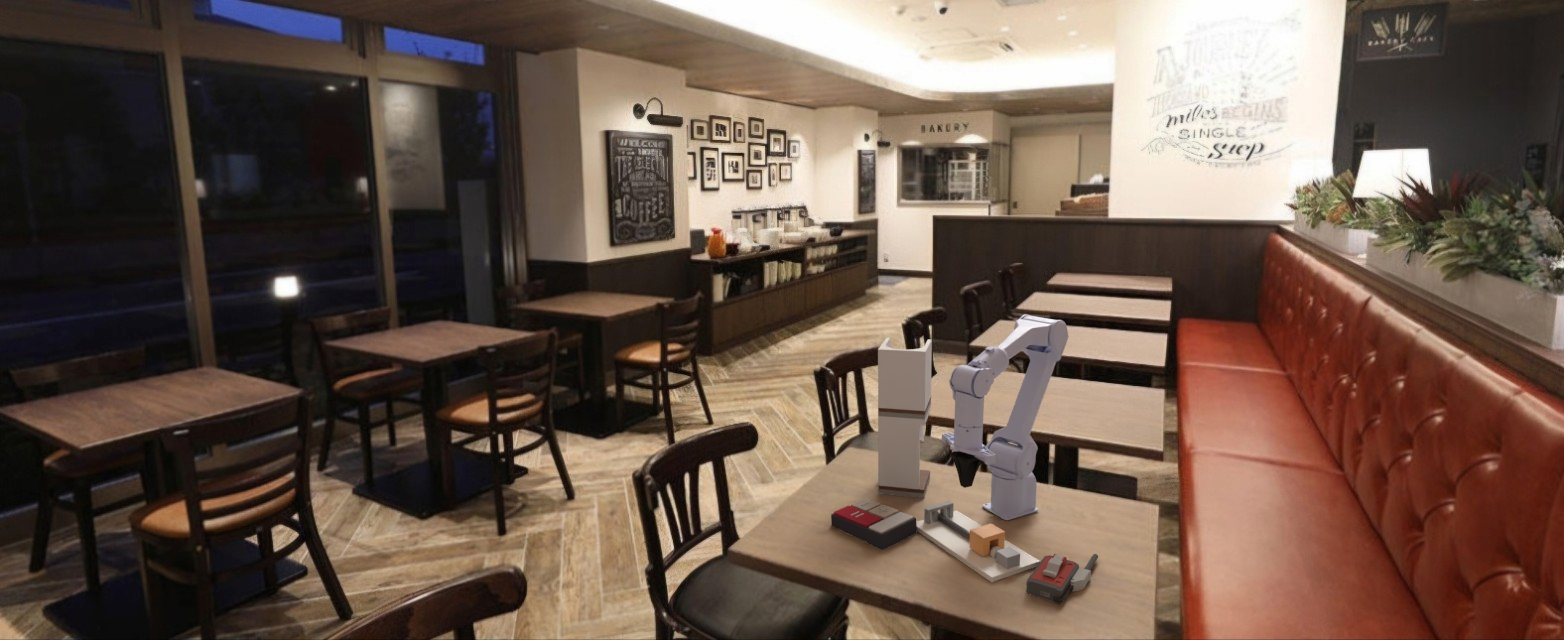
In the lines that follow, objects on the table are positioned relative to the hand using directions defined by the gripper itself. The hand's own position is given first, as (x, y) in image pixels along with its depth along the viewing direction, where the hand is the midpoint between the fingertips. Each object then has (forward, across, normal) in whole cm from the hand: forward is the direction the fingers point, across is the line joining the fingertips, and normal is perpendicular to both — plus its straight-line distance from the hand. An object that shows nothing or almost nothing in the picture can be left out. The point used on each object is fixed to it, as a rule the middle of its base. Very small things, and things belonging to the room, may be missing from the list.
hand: (966, 485), depth 165 cm
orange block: (+9, +10, -2) cm, 14 cm away
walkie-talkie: (+11, +23, +4) cm, 26 cm away
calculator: (+11, -11, -16) cm, 22 cm away
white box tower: (+10, -25, +3) cm, 27 cm away
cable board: (+10, +5, -2) cm, 12 cm away
